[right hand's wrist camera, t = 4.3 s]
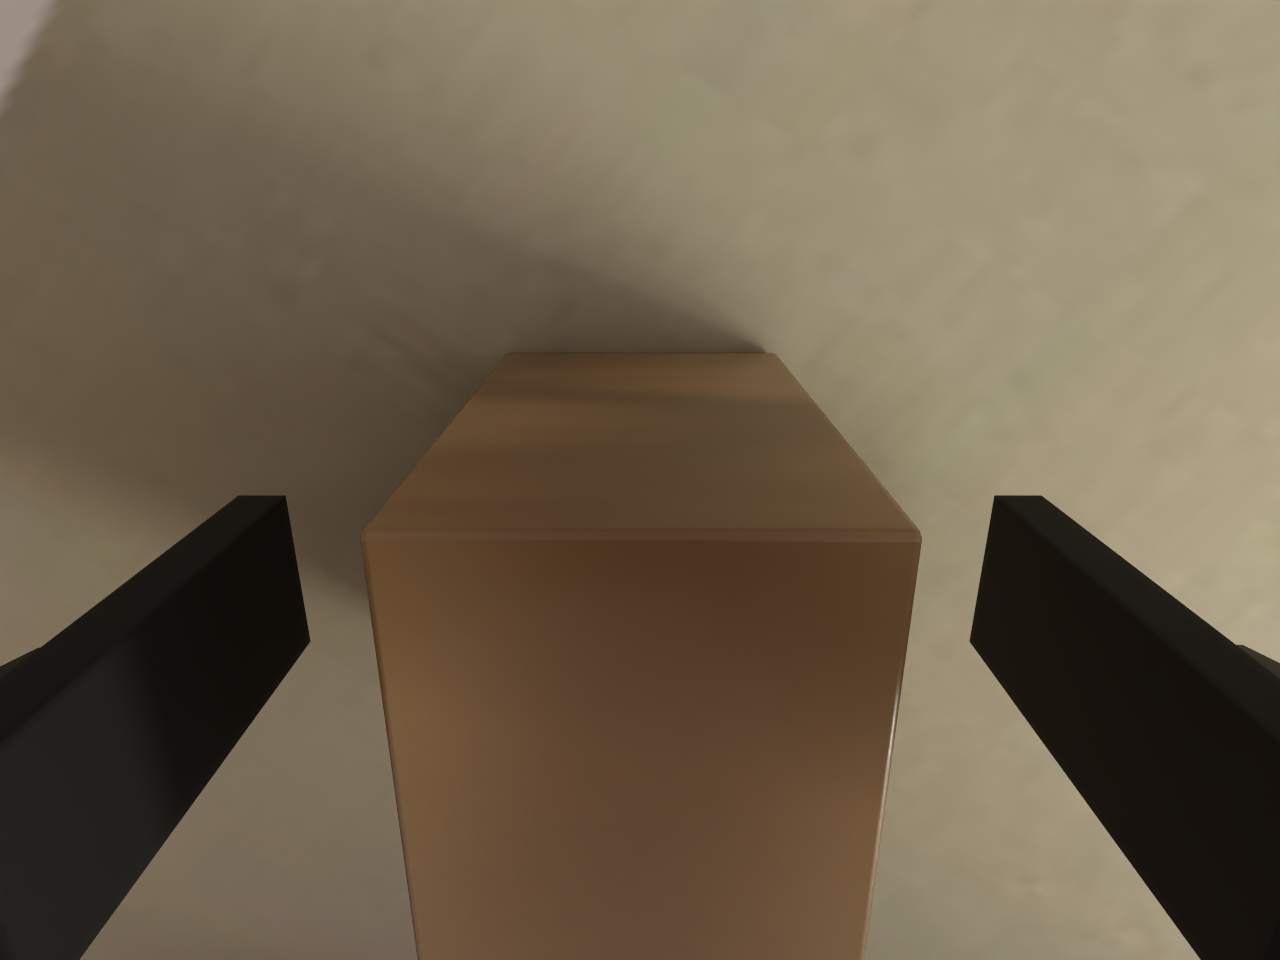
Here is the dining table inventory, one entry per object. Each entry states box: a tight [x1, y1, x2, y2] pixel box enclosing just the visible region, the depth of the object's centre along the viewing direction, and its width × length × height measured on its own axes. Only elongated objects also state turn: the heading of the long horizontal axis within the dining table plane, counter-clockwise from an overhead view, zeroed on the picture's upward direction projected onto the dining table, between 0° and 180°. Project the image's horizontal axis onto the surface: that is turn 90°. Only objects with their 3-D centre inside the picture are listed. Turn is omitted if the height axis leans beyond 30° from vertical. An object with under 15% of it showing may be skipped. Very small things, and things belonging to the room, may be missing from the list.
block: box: [360, 353, 922, 960], centre depth 11 cm, size 5×7×8 cm
